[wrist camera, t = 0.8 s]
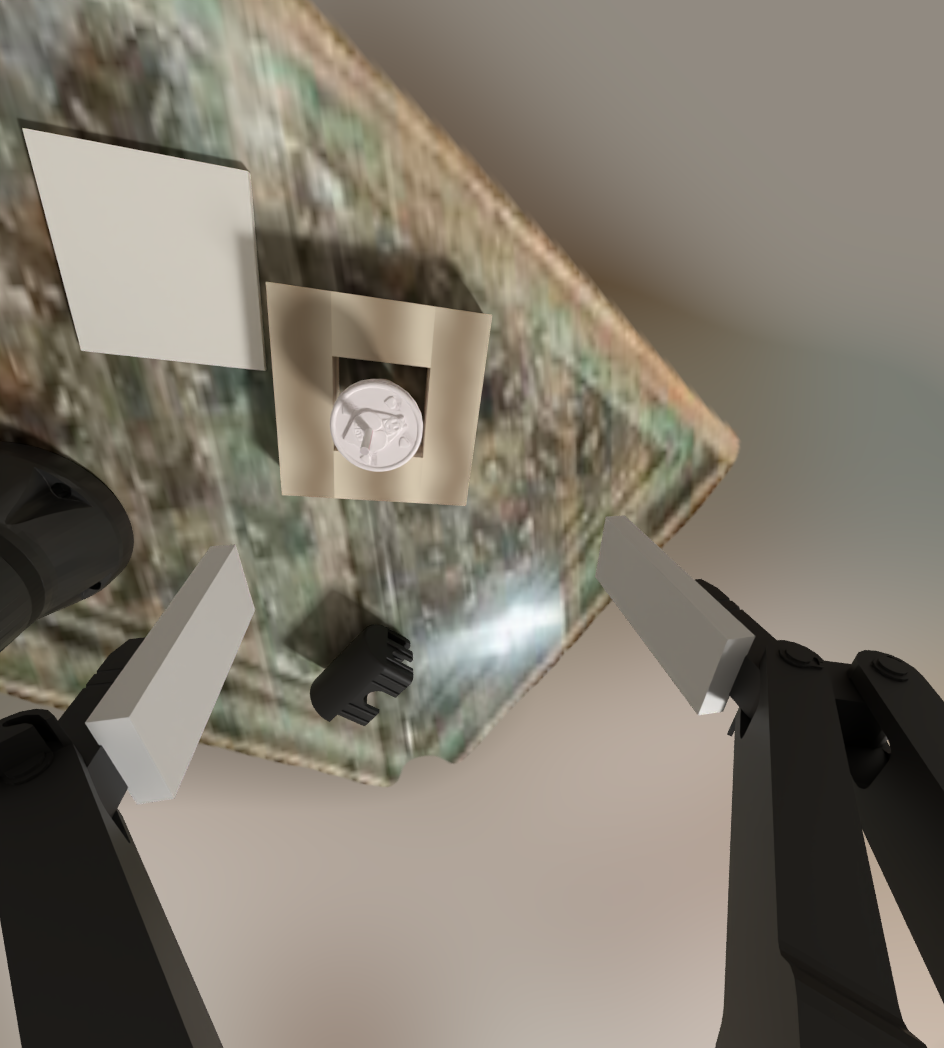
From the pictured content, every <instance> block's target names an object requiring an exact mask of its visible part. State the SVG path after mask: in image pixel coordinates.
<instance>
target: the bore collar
mask: <svg viewBox="0 0 944 1048" xmlns="http://www.w3.org/2000/svg"><path fill="white" fill-rule="evenodd" d="M266 293H267V306H268V319H269V332H270V345H271V358H272V371H273V384H274V397H275V410H276V423H277V436H278V449H279V462H280V475H281V488H282V495H291V496H308V497H325V498H342V499H359V500H376V501H393V502H410V503H427V504H444V505H461V506H466V501H467V494H468V487H469V479H470V472H471V465H472V458H473V450H474V443H475V436H476V429H477V421H478V414H479V407H480V400H481V392H482V385H483V378H484V371H485V363H486V356H487V349H488V342H489V334H490V327H491V320H492V315H489V314H484V313H477V312H470V311H463V310H457V309H450V308H443V307H436V306H429V305H423V304H416V303H409V302H402V301H396V300H389V299H382V298H375V297H368V296H362V295H355V294H348V293H341V292H334V291H328V290H321V289H314V288H307V287H300V286H294V285H287V284H280V283H272V282H266ZM339 357H344V358H353V359H361V360H370V361H378V362H386V363H395V364H403V365H411V366H420V367H427V378H426V390H425V403H424V415H423V432H422V440H421V444H420V445H419V448H418V450H417V451H416V453H415V454H414V456H413V457H412V458H411V459H410V460H409V461H408V462H407V463H405V464H404V465H402V466H400V467H398V468H396V469H393V470H389V471H383V472H375V471H369V470H365V469H362V468H359V467H357V466H355V465H354V464H352V463H350V462H349V461H348V460H347V459H346V458H344V457H343V455H342V454H341V453H340V452H339V451H338V449H337V447H336V446H335V444H334V442H333V439H332V436H331V432H330V416H331V412H332V409H333V406H334V403H335V401H336V400H337V398H338V397H339Z"/></svg>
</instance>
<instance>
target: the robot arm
mask: <svg viewBox="0 0 944 1048" xmlns="http://www.w3.org/2000/svg"><path fill="white" fill-rule="evenodd" d="M133 544H134V538H133V531H132V527H131V523H130V521H129V518H128V516H127V514H126V512H125V510H124V508H123V507H122V505H121V504H120V502H119V501H118V499H117V498H116V497H115V496H114V494H113V493H112V492H111V491H110V490H109V489H108V488H107V487H106V486H105V485H104V484H103V483H102V482H101V481H99V480H98V479H97V478H96V477H95V476H93V475H92V474H91V473H89V472H88V471H86V470H85V469H83V468H82V467H80V466H79V465H77V464H75V463H73V462H72V461H70V460H68V459H66V458H64V457H61V456H59V455H57V454H54V453H52V452H49V451H46V450H43V449H40V448H37V447H33V446H29V445H24V444H18V443H11V442H0V652H1V651H2V650H3V649H4V648H5V647H7V646H8V645H9V644H10V643H11V642H12V641H13V640H14V639H15V638H16V637H18V636H19V635H20V634H21V633H22V632H23V631H24V630H25V629H26V628H28V627H29V626H30V625H31V624H32V623H34V622H35V621H36V620H38V619H40V618H42V617H44V616H47V615H49V614H51V613H54V612H56V611H58V610H60V609H63V608H65V607H67V606H70V605H72V604H74V603H77V602H79V601H81V600H83V599H86V598H88V597H90V596H92V595H94V594H96V593H97V592H99V591H101V590H102V589H103V588H105V587H106V586H107V585H108V584H109V583H110V582H111V581H112V580H113V579H115V578H116V577H117V576H118V575H119V574H120V573H121V572H122V571H123V569H124V568H125V567H126V565H127V564H128V562H129V560H130V558H131V555H132V551H133ZM595 577H596V578H597V580H598V581H599V582H600V584H601V585H602V586H603V588H604V589H605V590H606V592H607V593H608V594H609V596H610V597H611V599H612V600H613V601H614V602H615V604H616V605H617V607H618V608H619V609H620V611H621V612H622V613H623V615H624V616H625V617H626V619H627V620H628V621H629V623H630V624H631V625H632V627H633V628H634V630H635V631H636V632H637V634H638V635H639V636H640V638H641V639H642V640H643V642H644V643H645V644H646V646H647V647H648V648H649V650H650V651H651V652H652V654H653V655H654V656H655V658H656V659H657V660H658V662H659V663H660V665H661V666H662V667H663V669H664V670H665V671H666V673H667V674H668V675H669V677H670V678H671V679H672V681H673V682H674V684H675V685H676V686H677V687H678V689H679V690H680V692H681V693H682V694H683V696H684V697H685V698H686V699H687V701H688V702H689V704H690V705H691V706H692V708H693V709H694V711H695V712H696V713H697V715H703V714H710V713H716V712H722V711H723V710H724V708H725V705H726V703H727V701H728V699H729V696H731V698H732V699H733V700H734V701H735V702H736V703H737V705H738V706H739V709H738V711H737V713H736V715H735V718H734V720H733V722H732V724H731V726H730V729H729V731H728V735H730V736H732V735H733V732H734V731H735V741H734V766H733V767H734V768H733V791H732V793H733V794H732V817H731V841H730V866H729V891H728V918H727V942H726V968H725V992H724V993H725V994H724V1010H723V1018H722V1024H721V1027H720V1031H719V1035H718V1039H717V1042H716V1047H715V1048H927V1046H926V1045H925V1044H924V1043H923V1042H922V1041H920V1040H919V1039H918V1038H917V1037H915V1035H913V1034H912V1033H911V1032H910V1031H909V1030H908V1029H907V1027H906V1025H905V1023H904V1022H903V1019H902V1016H901V1012H900V1009H899V1005H898V1000H897V995H896V990H895V985H894V981H893V976H892V971H891V966H890V962H889V957H888V952H887V947H886V942H885V938H884V933H883V928H882V923H881V919H880V913H879V909H878V904H877V899H876V894H875V890H874V885H873V880H872V875H871V871H870V866H869V861H868V856H867V852H866V846H865V842H864V837H863V832H864V834H865V836H866V838H867V840H868V842H869V845H870V847H871V849H872V851H873V853H874V855H875V857H876V860H877V862H878V864H879V866H880V868H881V870H882V872H883V875H884V877H885V879H886V881H887V883H888V885H889V887H890V889H891V892H892V894H893V896H894V898H895V900H896V902H897V904H898V907H899V909H900V911H901V913H902V915H903V917H904V920H905V922H906V924H907V926H908V928H909V930H910V932H911V935H912V937H913V939H914V941H915V943H916V945H917V947H918V949H919V952H920V954H921V956H922V958H923V960H924V962H925V964H926V967H927V969H928V971H929V973H930V975H931V977H932V979H933V981H934V984H935V986H936V988H937V990H938V992H939V994H940V996H941V999H942V1001H943V1003H944V701H943V700H942V699H941V698H940V696H939V695H938V694H937V693H936V692H935V690H934V689H933V688H932V687H931V685H930V684H929V683H928V682H927V680H926V679H925V678H924V677H923V676H922V675H921V674H920V673H919V672H918V671H917V670H916V669H915V668H914V667H912V666H910V665H909V664H907V663H906V662H904V661H903V660H901V659H899V658H897V657H894V656H892V655H889V654H885V653H882V652H878V651H870V650H864V651H861V652H859V653H858V654H857V656H856V657H855V659H854V661H853V662H852V664H845V663H838V662H830V661H824V660H823V659H822V658H821V657H820V656H819V655H818V654H816V653H815V652H813V651H812V650H810V649H808V648H807V647H805V646H802V645H800V644H797V643H795V642H790V641H785V640H776V639H775V638H774V637H772V636H771V635H770V634H769V633H768V632H767V631H766V630H765V629H763V628H762V627H761V626H760V625H759V624H758V623H756V621H754V620H753V619H752V618H751V617H750V616H749V615H748V614H746V613H745V612H744V611H743V610H740V609H739V606H737V605H736V604H735V603H734V602H733V601H730V600H729V598H728V597H727V596H726V595H725V594H724V593H723V592H721V591H720V590H719V589H718V588H717V587H715V586H713V585H711V584H709V583H708V582H706V581H704V580H702V579H696V580H694V579H693V578H692V577H691V576H690V575H689V574H688V573H686V572H685V571H684V570H683V569H682V568H681V567H680V566H678V564H677V563H676V562H674V561H673V560H672V559H671V558H670V557H669V556H668V555H667V554H666V553H665V552H664V551H663V550H662V549H660V548H659V547H658V546H657V545H656V544H655V543H654V542H653V541H652V540H651V539H650V538H649V537H647V536H646V535H645V534H644V533H643V532H642V531H641V530H640V529H639V528H638V527H637V526H636V525H634V524H633V523H632V522H631V521H630V520H629V519H628V518H627V517H626V516H611V517H606V520H605V525H604V531H603V536H602V542H601V548H600V553H599V559H598V564H597V570H596V576H595ZM254 611H255V609H254V605H253V602H252V598H251V595H250V592H249V588H248V585H247V581H246V578H245V575H244V571H243V568H242V564H241V561H240V558H239V554H238V551H237V548H236V545H223V546H211V547H210V548H209V549H208V551H207V552H206V554H205V555H204V556H203V558H202V559H201V561H200V562H199V563H198V565H197V566H196V568H195V569H194V570H193V572H192V573H191V575H190V576H189V577H188V579H187V580H186V582H185V583H184V584H183V586H182V587H181V589H180V590H179V592H178V593H177V594H176V596H175V597H174V599H173V600H172V601H171V603H170V604H169V606H168V607H167V608H166V610H165V611H164V613H163V614H162V615H161V617H160V618H159V620H158V621H157V622H156V624H155V625H154V627H153V628H152V629H151V631H150V632H149V634H148V635H147V636H146V637H145V638H136V639H129V640H128V641H127V642H125V643H124V644H123V645H121V646H120V647H119V648H117V649H116V650H115V651H114V652H112V653H111V654H110V655H109V656H108V657H107V659H106V660H105V661H104V662H103V664H102V665H101V666H100V668H99V669H98V670H97V674H94V675H93V677H92V678H91V679H90V680H89V682H88V683H87V684H86V688H83V689H82V691H81V692H80V693H79V694H78V696H77V697H76V698H75V700H74V701H73V702H72V703H71V705H70V706H69V707H68V709H67V710H66V711H65V712H64V714H63V715H62V716H61V718H60V719H59V720H58V721H57V719H56V718H55V716H54V715H53V714H52V713H51V712H49V711H48V710H43V709H32V710H27V711H22V712H18V713H16V714H13V715H11V716H8V717H5V718H3V719H1V720H0V921H1V927H2V933H3V939H4V945H5V951H6V956H7V963H8V969H9V974H10V980H11V986H12V992H13V998H14V1004H15V1010H16V1015H17V1021H18V1028H19V1034H20V1039H21V1045H22V1048H223V1046H222V1044H221V1041H220V1039H219V1037H218V1034H217V1032H216V1030H215V1028H214V1025H213V1023H212V1021H211V1018H210V1016H209V1014H208V1012H207V1009H206V1007H205V1005H204V1002H203V1000H202V998H201V995H200V993H199V991H198V988H197V986H196V984H195V982H194V979H193V977H192V975H191V972H190V970H189V968H188V966H187V963H186V961H185V959H184V956H183V954H182V952H181V950H180V947H179V945H178V943H177V940H176V938H175V936H174V933H173V931H172V929H171V926H170V924H169V922H168V920H167V917H166V915H165V913H164V910H163V908H162V906H161V904H160V901H159V899H158V897H157V894H156V892H155V890H154V887H153V885H152V883H151V881H150V878H149V876H148V874H147V871H146V869H145V867H144V865H143V862H142V860H141V858H140V855H139V853H138V851H137V848H136V846H135V844H134V842H133V839H132V837H131V835H130V832H129V830H128V828H127V826H126V823H125V821H124V819H123V816H122V815H121V813H120V812H119V810H118V809H117V808H118V806H119V804H120V802H121V800H122V798H123V796H124V794H125V792H126V791H127V790H128V791H129V793H130V794H131V796H132V798H133V799H134V801H135V802H136V804H142V803H149V802H155V801H162V800H168V799H174V798H175V796H176V793H177V791H178V789H179V787H180V784H181V782H182V780H183V777H184V775H185V773H186V770H187V768H188V766H189V763H190V761H191V758H192V756H193V754H194V751H195V749H196V747H197V745H198V742H199V740H200V738H201V735H202V733H203V730H204V728H205V726H206V723H207V721H208V719H209V716H210V714H211V712H212V709H213V707H214V705H215V702H216V700H217V698H218V695H219V693H220V691H221V688H222V686H223V684H224V681H225V679H226V677H227V674H228V672H229V670H230V667H231V665H232V663H233V660H234V658H235V655H236V653H237V651H238V648H239V646H240V644H241V641H242V639H243V637H244V634H245V632H246V630H247V627H248V625H249V623H250V620H251V618H252V616H253V613H254ZM887 740H889V743H890V746H889V745H888V743H887ZM862 830H863V832H862Z"/></svg>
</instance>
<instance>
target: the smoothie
mask: <svg viewBox="0 0 944 1048" xmlns="http://www.w3.org/2000/svg"><path fill="white" fill-rule="evenodd" d="M330 432H331V436H332V439H333V442H334V444H335V446H336V447H337V449H338V451H339V452H340V453H341V454H342V455H343V457H344V458H346V459H347V460H348V461H349V462H350V463H352V464H354V465H355V466H357V467H359V468H362V469H365V470H369V471H375V472H383V471H389V470H393V469H396V468H398V467H400V466H402V465H404V464H405V463H407V462H408V461H409V460H410V459H411V458H412V457H413V456H414V454H415V453H416V451H417V450H418V448H419V445H420V443H421V439H422V432H423V421H422V415H421V412H420V410H419V407H418V405H417V403H416V402H415V400H414V399H413V398H412V397H411V395H410V394H409V393H408V392H407V391H405V390H404V389H403V388H401V387H400V386H399V385H397V384H395V383H394V382H392V381H390V380H387V379H382V378H381V379H368V380H361V381H359V382H357V383H354V384H352V385H350V386H349V387H348V388H346V389H345V390H344V391H343V392H342V393H341V394H340V395H339V397H338V398H337V400H336V401H335V403H334V406H333V409H332V412H331V416H330Z"/></svg>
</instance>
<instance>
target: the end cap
mask: <svg viewBox="0 0 944 1048" xmlns="http://www.w3.org/2000/svg"><path fill="white" fill-rule="evenodd" d="M409 648H410V641H409V640H408V639H406V638H404V637H402V636H401V635H399V634H397V633H395V632H394V631H392V630H390V629H388V628H387V627H384V626H380V625H371V626H368V627H367V628H366V629H365V630H364V631H363V632H362V633H361V634H360V635H359V636H358V637H357V638H356V639H355V640H354V641H353V642H352V643H351V644H350V645H349V646H348V647H347V648H346V649H345V650H344V651H343V652H342V653H341V654H340V655H339V656H338V657H337V658H336V659H335V660H334V661H333V662H332V663H331V664H330V665H329V666H328V667H327V668H326V669H325V670H324V671H323V672H322V673H321V674H320V675H319V676H318V677H317V678H316V679H315V680H314V682H313V683H312V686H311V689H310V698H311V702H312V705H313V707H314V708H315V710H316V711H317V713H318V714H319V715H320V716H321V717H323V718H324V719H325V720H327V721H329V722H330V721H331V720H332V719H333V718H334V717H335V716H336V715H340V716H342V717H344V718H347V719H349V720H351V721H353V722H356V723H358V724H360V725H363V726H365V725H367V724H368V723H369V722H370V721H371V720H372V719H373V718H374V717H375V716H376V715H377V714H378V713H379V709H377V708H375V707H373V706H371V705H369V704H367V695H368V694H369V693H370V692H373V691H382V692H385V693H387V694H389V695H391V696H393V697H395V698H396V697H397V696H398V695H399V694H400V693H401V692H402V691H403V690H405V689H406V688H407V687H408V686H409V685H410V684H411V682H412V680H413V669H412V668H411V667H409V666H407V665H405V664H403V663H401V662H402V661H403V660H404V659H405V660H407V661H409V662H412V661H413V653H412V651H410V650H408V649H409Z"/></svg>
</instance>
